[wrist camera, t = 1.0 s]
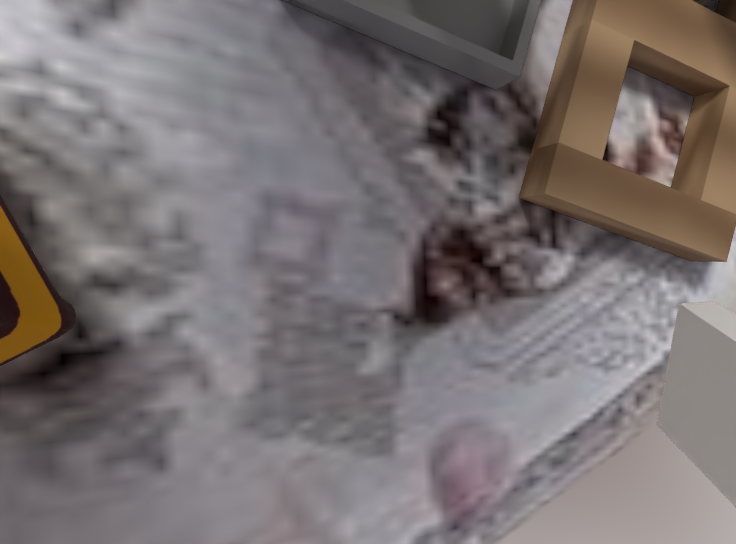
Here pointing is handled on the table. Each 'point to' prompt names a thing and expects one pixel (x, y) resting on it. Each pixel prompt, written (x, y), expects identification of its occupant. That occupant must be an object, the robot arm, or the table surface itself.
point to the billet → (701, 1)
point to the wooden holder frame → (596, 111)
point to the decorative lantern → (26, 296)
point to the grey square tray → (444, 31)
